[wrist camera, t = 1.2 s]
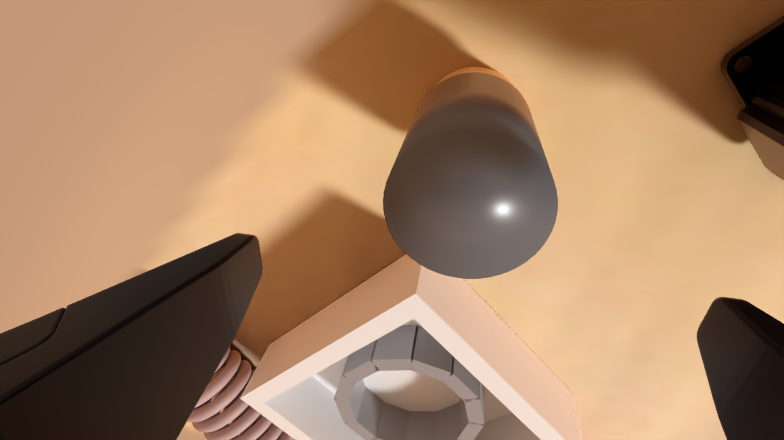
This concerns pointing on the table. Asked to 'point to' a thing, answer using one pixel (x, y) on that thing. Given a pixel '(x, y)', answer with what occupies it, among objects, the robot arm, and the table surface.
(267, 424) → the coil
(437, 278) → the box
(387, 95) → the table surface
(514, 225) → the plug
